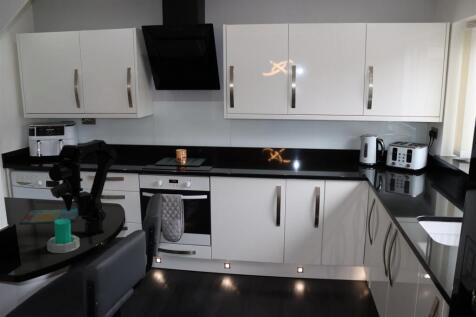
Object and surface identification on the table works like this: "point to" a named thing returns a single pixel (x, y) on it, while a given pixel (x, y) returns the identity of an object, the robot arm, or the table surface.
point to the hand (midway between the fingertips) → (74, 213)
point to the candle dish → (63, 245)
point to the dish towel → (49, 216)
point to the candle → (62, 231)
